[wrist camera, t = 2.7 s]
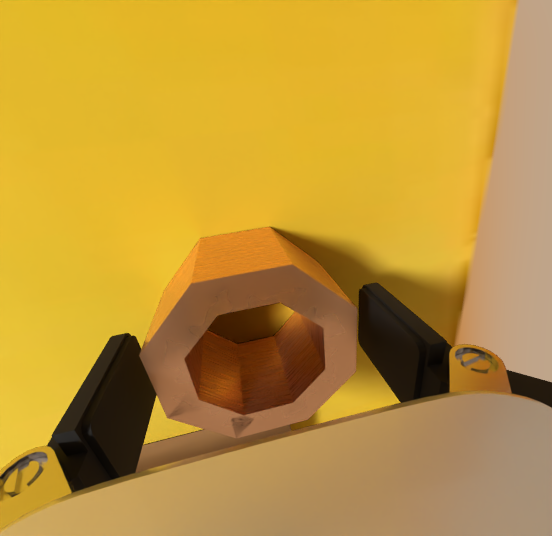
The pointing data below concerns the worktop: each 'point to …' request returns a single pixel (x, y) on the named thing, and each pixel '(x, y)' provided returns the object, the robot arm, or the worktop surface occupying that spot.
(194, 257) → the ring
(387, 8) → the worktop surface
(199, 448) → the shaft block
